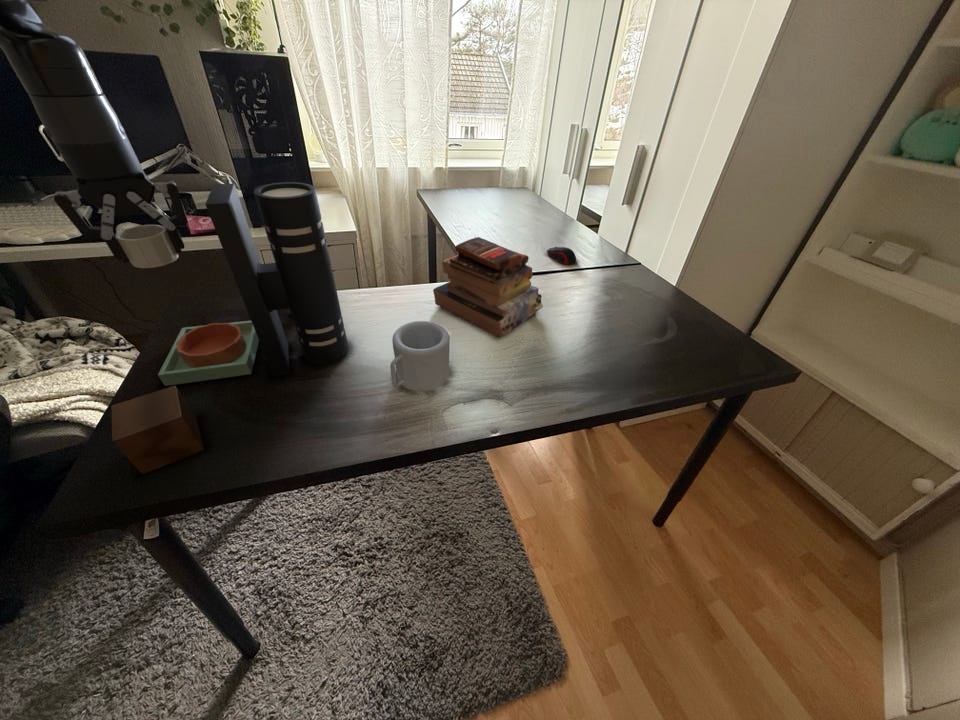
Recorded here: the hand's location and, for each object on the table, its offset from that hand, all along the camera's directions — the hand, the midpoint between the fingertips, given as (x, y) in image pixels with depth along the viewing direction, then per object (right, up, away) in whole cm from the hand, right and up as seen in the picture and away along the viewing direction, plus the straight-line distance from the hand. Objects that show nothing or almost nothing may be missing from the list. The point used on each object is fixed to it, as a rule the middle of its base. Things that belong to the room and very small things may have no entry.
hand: (153, 255), depth 60 cm
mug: (+40, -21, +16) cm, 48 cm away
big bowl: (-2, -15, +17) cm, 23 cm away
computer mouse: (+80, +18, +66) cm, 105 cm away
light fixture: (+16, -16, +20) cm, 30 cm away
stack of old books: (+54, -4, +38) cm, 66 cm away
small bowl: (0, 0, 0) cm, 1 cm away
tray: (-2, -16, +18) cm, 24 cm away
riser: (+2, -30, +1) cm, 31 cm away
